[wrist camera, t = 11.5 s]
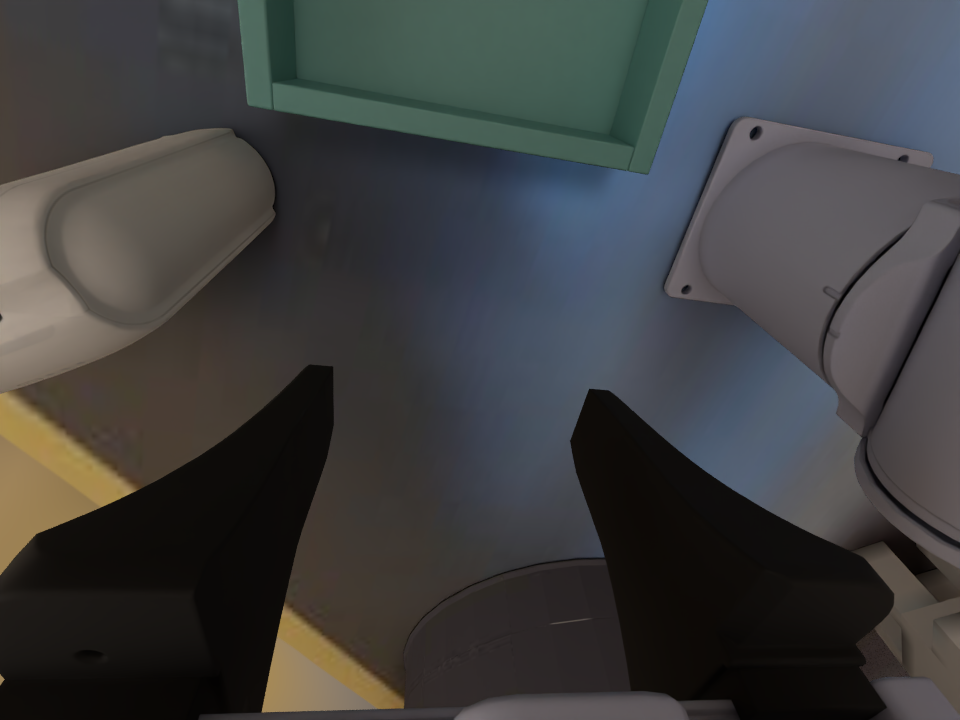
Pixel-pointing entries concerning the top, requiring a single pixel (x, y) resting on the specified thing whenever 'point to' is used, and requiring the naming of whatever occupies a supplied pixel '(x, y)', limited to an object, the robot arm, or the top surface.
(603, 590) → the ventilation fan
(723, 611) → the robot arm
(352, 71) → the bin
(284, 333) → the top surface
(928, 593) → the toy llama
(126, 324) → the white rounded flat block
